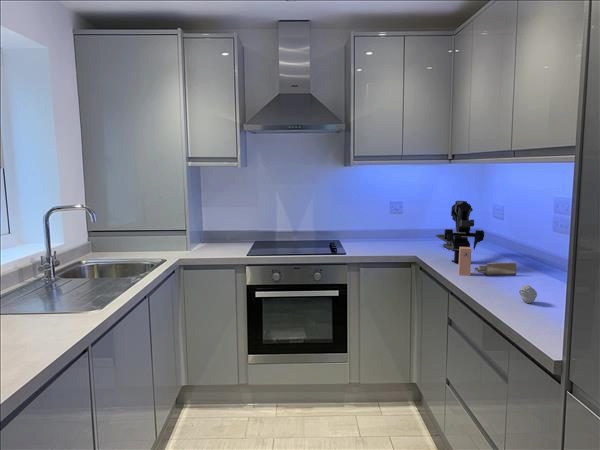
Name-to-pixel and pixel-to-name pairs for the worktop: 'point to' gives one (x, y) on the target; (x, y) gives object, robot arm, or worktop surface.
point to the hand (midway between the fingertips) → (464, 248)
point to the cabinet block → (464, 261)
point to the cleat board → (497, 269)
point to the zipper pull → (448, 244)
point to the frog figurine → (528, 294)
